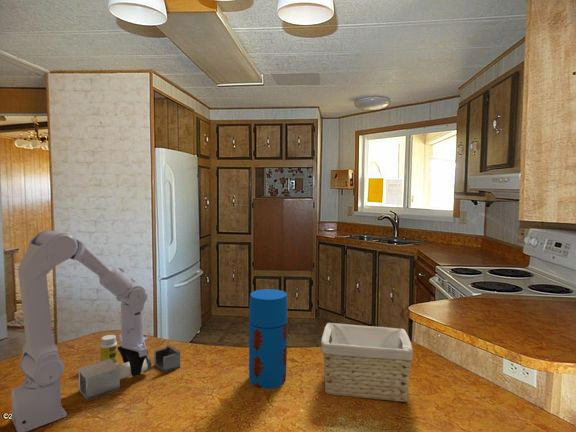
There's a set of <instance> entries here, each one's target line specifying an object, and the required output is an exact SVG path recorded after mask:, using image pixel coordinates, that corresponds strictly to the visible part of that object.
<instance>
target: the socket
mask: <svg viewBox="0 0 576 432" xmlns="http://www.w3.org/2000/svg"><path fill="white" fill-rule="evenodd" d="M153 358H154V359H153V360H154V361H153V362H154V363H153V366H155V367H156V368H157V369H158V370H159V371H162V372H163V373H164V374H166V373H169V372H172V371H174V369H175V370H176V369H180V368H181V351H180V350H178V349H177V348H176V347H174V346H172V345H171V344H167V345H166V347H161V348H159V349H157V350H156V349H155V350H154V351H153Z"/></svg>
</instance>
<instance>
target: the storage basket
mask: <svg viewBox="0 0 576 432" xmlns="http://www.w3.org/2000/svg"><path fill="white" fill-rule="evenodd" d="M322 332H323V333H322V336H321V339H320V340H321V343H320V345H321V353H322V354H323V355H322V356H323V372H324V375H323V378H324V380H325V381H324V389H325V390H324V391H325V393H326V394H328V395H333V396H344V397H352V398H353V397H354V398H362V399H365V398H366V399H372V398H373V400H374V399H375V400H384V401H394V402H402V403H403V402H404V403H405V402H407V401H408V396H409V388H410V386H409V382H410V373H411V370H412V369H411V367H412V360H413V358H414V356H413V355H414V351H413V345H412V343H411V342H412V341H411V340H410V337H409V334H408V332H407V331H406V329H405V328H397V327H396V328H395V327H387V326H386V327H385V326H373V325H372V326H370V325H369V326H368V325H360V324H359V325H357V324H347V323H335V322H327V323H326V324H325V326H324V330H323V331H322Z"/></svg>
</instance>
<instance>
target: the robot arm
mask: <svg viewBox="0 0 576 432" xmlns="http://www.w3.org/2000/svg"><path fill="white" fill-rule="evenodd" d="M27 247H28V248H27V249H26V251H25V253H24V255H23V258H22V259H21V260H20V261H21V262H20V263H19V264H18V269H17V273H18V274H17V275H18V282H19V290H20V298H21V299H20V300H21V308H22V318H23V325H24V326H23V327H24V336H25V344H24V345H23V346H22V355H21V358H20V359H19V369H20V371H21V372H22V373H23V374H25V376H24V379H23V383H22V384H21V385H18V386H17V387H14V388H12V389H11V420H12V423H13V425H14V427H15V430H16V432H29V431H33V430H34V429H37V428H39V427H41V426H45V425H48V424H50V423H53V422H56V421H58V420H61V419H63V418H66V417H67V416H68V413H67V412H66V411H65V409H64V407H63V406H62V394H61V392H62V390H61V389H62V388H61V376H62V375H63V374H64V371H65V362H64V361H63V359H62V358H61V357H60V354H59V350H58V349H59V348H58V347H57V345H56V344H55V343H56V342H55V341H54V337H53V336H54V335H53V329H52V328H53V327H52V318H51V308H50V306H51V305H50V296H49V295H50V294H49V288H48V280H47V279H48V278H47V275H48V274H49V273H50V272H51V271H52V270H53V269H54V268H55V267H57V266H59V265H60V264H62V263H64V262H65V261H67V260H69V259H70V260H74V261H78V262H79V263H80V264H81V265H83V266H84V267H86V268H87V269H88V270H90V271H91V272H93V273H94V274H95V275H97V276H98V277H99V284H100V285H101V286H102V287H103V288H104V289H106V290H108V292H110V293H111V294H112V295H114V296H115V297H116V300H117V301H118V302H120V316H121V319H120V320H121V321H120V322H121V325H120V326H121V329H120V330H121V333H120V334H119V336H118V341H119V343H120V346H117V352H119V354H120V356H121V358H122V363H126V362H129V363H130V368H131V374H132V375H131V376H132V378H134V377H137V376H141V373H142V372H141V370H142V366H143V362H144V360H145V358H146V356H147V355H148V354H149V350H148V347H147V346H146V343H145V342H147V341H148V337H146V336H144V306H145V305H144V304H145V303H146V301H147V299H148V293H146V289H145V288H144V287H143V286H141V285H137V284H136V280H135V279H134V278H130V277H129V276H128V275H126V274H125V273H124V272H125V270H124V269H123V268H122V267H117V266H112V267H110V266H108V264H106V262H104V260H102V259H101V258H100V257H99V256H98V255H97V254H95V252H93V251H92V250H91V249H90V248H89V247H88V246H87V245H86V244H85V243H84V241H83V242H82V241H81V240H79V239H77V238H76V237H75V236H74V235H73V234H71V233H67V232H59V231H56V230H53V229H52V230H51V229H45V230H42V231H40V232H39V233H37V234H36V235H34V237H33V238H32V239H30V240H29V242H28V246H27Z"/></svg>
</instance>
